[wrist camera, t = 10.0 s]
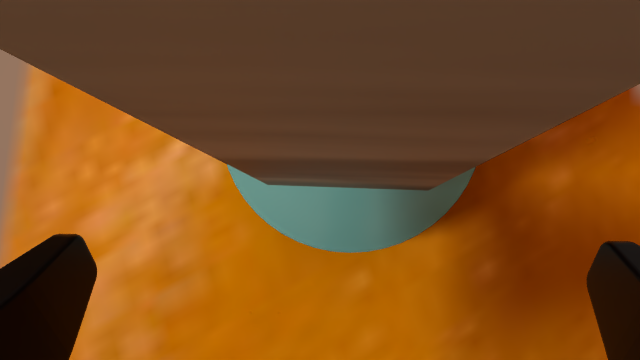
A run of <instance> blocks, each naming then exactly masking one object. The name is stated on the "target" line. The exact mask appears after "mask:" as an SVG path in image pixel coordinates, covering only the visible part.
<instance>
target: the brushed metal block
mask: <svg viewBox="0 0 640 360" xmlns="http://www.w3.org/2000/svg"><path fill="white" fill-rule="evenodd" d="M0 49H1V50H3V51H5V52H7V53H9V54H11V55H13V56H15V57H17V58H19V59H21V60H23V61H25V62H27V63H29V64H31V65H33V66H34V67H36V68H38V69H40V70H42V71H44V72H46V73H48V74H50V75H52V76H54V77H56V78H58V79H60V80H62V81H64V82H66V83H68V84H70V85H72V86H74V87H76V88H78V89H80V90H82V91H84V92H86V93H88V94H90V95H92V96H94V97H96V98H98V99H100V100H101V101H103V102H105V103H107V104H109V105H111V106H113V107H115V108H117V109H119V110H121V111H123V112H125V113H127V114H129V115H131V116H133V117H135V118H137V119H139V120H141V121H143V122H145V123H147V124H149V125H151V126H153V127H155V128H157V129H159V130H161V131H163V132H165V133H167V134H168V135H170V136H172V137H174V138H176V139H178V140H180V141H182V142H184V143H186V144H188V145H190V146H192V147H194V148H196V149H198V150H200V151H202V152H204V153H206V154H208V155H210V156H212V157H214V158H216V159H218V160H220V161H222V162H224V163H226V164H228V165H230V166H232V167H234V168H235V169H237V170H239V171H241V172H243V173H245V174H247V175H249V176H251V177H253V178H255V179H257V180H259V181H261V182H263V183H265V184H267V185H282V186H310V187H339V188H367V189H395V190H424V191H429V190H431V189H432V188H434V187H436V186H438V185H440V184H442V183H444V182H446V181H448V180H450V179H452V178H454V177H456V176H458V175H460V174H462V173H464V172H466V171H468V170H470V169H472V168H474V167H476V166H478V165H480V164H482V163H484V162H486V161H488V160H490V159H492V158H494V157H496V156H498V155H500V154H502V153H504V152H506V151H508V150H510V149H512V148H514V147H516V146H518V145H520V144H521V143H523V142H525V141H527V140H529V139H531V138H533V137H535V136H537V135H539V134H541V133H543V132H545V131H547V130H549V129H551V128H553V127H555V126H557V125H559V124H561V123H563V122H565V121H567V120H569V119H571V118H573V117H575V116H577V115H579V114H581V113H583V112H585V111H587V110H589V109H591V108H593V107H595V106H597V105H599V104H601V103H603V102H605V101H607V100H608V99H610V98H612V97H614V96H616V95H618V94H620V93H622V92H624V91H626V90H628V89H630V88H632V87H634V86H636V85H638V84H640V0H0Z"/></svg>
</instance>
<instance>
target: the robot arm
mask: <svg viewBox="0 0 640 360" xmlns="http://www.w3.org/2000/svg"><path fill="white" fill-rule="evenodd" d="M96 277H97V267H96V263H95V261H94V259H93V257H92V255H91V253H90V251H89V249H88V247H87V245H86V243H85V241H84V239H83V238H82V237H81V236H80V235H77V234H56V235H53V236H52V237H50V238H48V239H47V240H45V241H44V242H42V243H40V244H39V245H37V246H36V247H34V248H32V249H31V250H29V251H28V252H26V253H24V254H23V255H21V256H20V257H18V258H17V259H15V260H13V261H12V262H10V263H9V264H7V265H5V266H4V267H2V268H1V269H0V360H69V358H70V355H71V353H72V350H73V347H74V344H75V341H76V338H77V335H78V332H79V329H80V326H81V323H82V320H83V317H84V314H85V311H86V308H87V305H88V302H89V299H90V296H91V293H92V290H93V287H94V284H95V281H96ZM587 288H588V292H589V295H590V299H591V302H592V306H593V309H594V313H595V316H596V319H597V323H598V326H599V330H600V333H601V337H602V340H603V343H604V347H605V350H606V354H607V357H608V360H640V246H639V245H637V244H635V243H633V242H629V241H607V242H605V243H603V244H602V245H601V247H600V248H599V250H598V253H597V255H596V257H595V259H594V261H593V263H592V265H591V268H590V270H589V272H588V275H587Z"/></svg>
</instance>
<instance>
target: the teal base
mask: <svg viewBox="0 0 640 360" xmlns="http://www.w3.org/2000/svg"><path fill="white" fill-rule="evenodd" d="M227 166H228V169H229V171H230V174H231V176H232V178H233V180H234V182H235V185H236V186H237V188H238V189H239V191H240V193H241V194H242V196H243V197H244V199H245V200H246V201H247V203H248V204H249V205H250V206H251V207H252V209H253V210H254V211H255V212H256V213H257V214H258V215H259V216H260V217H261V218H262V219H263V220H265V221H266V222H267V223H268V224H269V225H271V226H272V227H273V228H275V229H276V230H278V231H279V232H281V233H282V234H284V235H286V236H288V237H290V238H292V239H294V240H296V241H298V242H300V243H303V244H306V245H309V246H311V247H314V248H319V249H324V250H328V251H335V252H348V253H351V252H368V251H373V250H378V249H383V248H387V247H390V246H393V245H396V244H399V243H402V242H404V241H406V240H408V239H410V238H412V237H414V236H416V235H418V234H420V233H421V232H423V231H424V230H426V229H427V228H429V227H430V226H432V225H433V224H434V223H435V222H436V221H438V220H439V219H440V218H441V217H442V216H443V215H444V214H446V213H447V211H448V210H449V209H450V208H451V207H452V206H453V205H454V203H455V202H456V201H457V200H458V198H459V197H460V195H461V194H462V192H463V191H464V189H465V188H466V186H467V185H468V183H469V180H470V178H471V176H472V174H473V172H474V170H475V167H474V168H472V169H470V170H468V171H466V172H464V173H462V174H460V175H458V176H456V177H454V178H452V179H450V180H448V181H446V182H444V183H442V184H440V185H438V186H436V187H434V188H432V189H431V190H429V191H424V190H395V189H367V188H339V187H310V186H282V185H267V184H265V183H263V182H261V181H259V180H257V179H255V178H253V177H251V176H249V175H247V174H245V173H243V172H241V171H239V170H237V169H235V168H234V167H232V166H230V165H228V164H227Z"/></svg>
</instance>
